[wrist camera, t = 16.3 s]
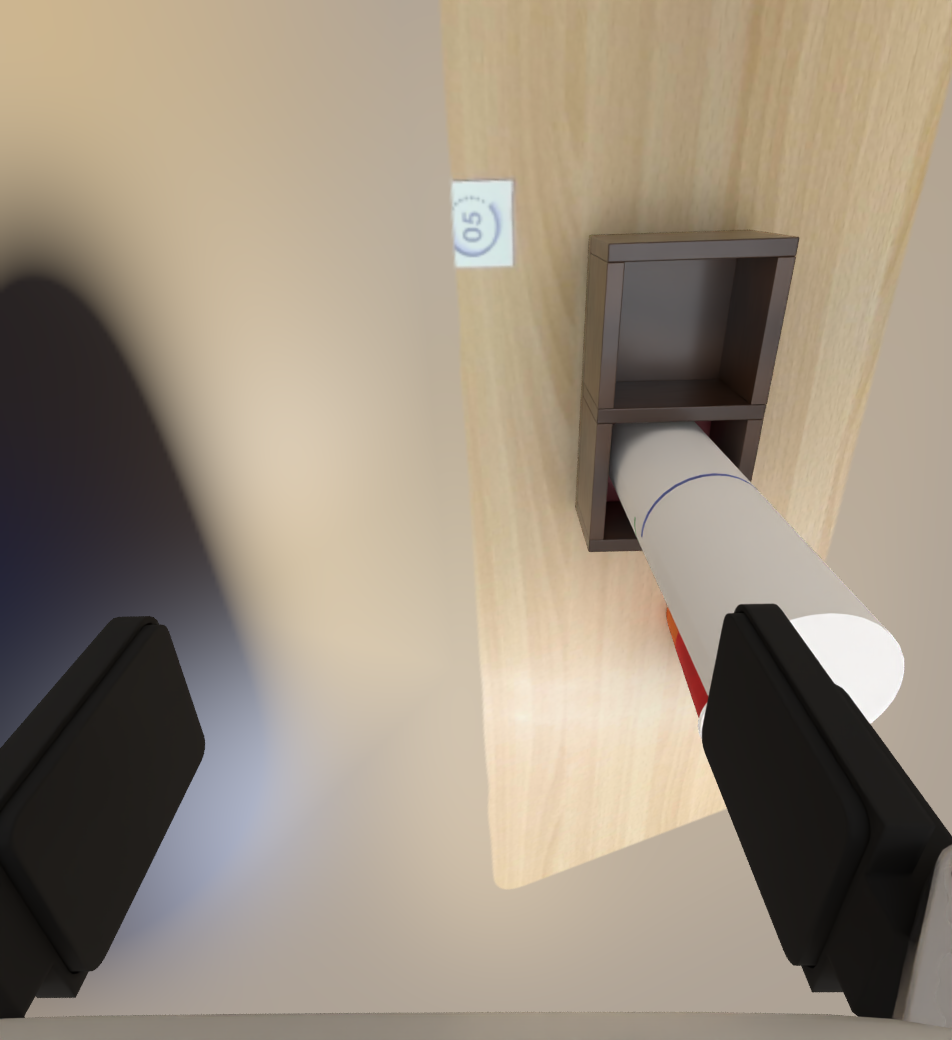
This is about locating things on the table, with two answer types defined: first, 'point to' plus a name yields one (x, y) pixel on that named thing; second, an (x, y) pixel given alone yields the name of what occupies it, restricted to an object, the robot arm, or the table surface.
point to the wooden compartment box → (676, 350)
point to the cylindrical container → (740, 559)
